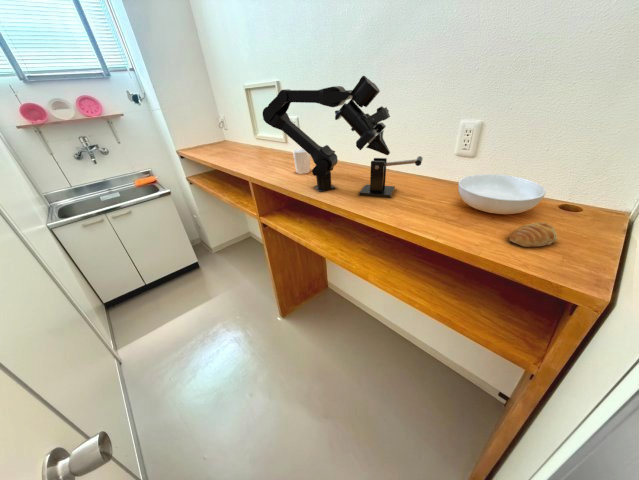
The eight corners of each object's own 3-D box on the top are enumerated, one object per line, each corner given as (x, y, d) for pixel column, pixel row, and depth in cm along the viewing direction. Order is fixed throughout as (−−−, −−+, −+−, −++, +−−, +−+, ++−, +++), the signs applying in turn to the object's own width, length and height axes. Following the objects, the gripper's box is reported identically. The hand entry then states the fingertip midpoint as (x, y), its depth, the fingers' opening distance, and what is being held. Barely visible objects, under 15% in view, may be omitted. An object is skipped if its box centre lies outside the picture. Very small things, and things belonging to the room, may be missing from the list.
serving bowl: (451, 216, 72) (456, 193, 69) (456, 191, 88) (460, 171, 84) (543, 228, 63) (554, 203, 60) (530, 198, 79) (538, 176, 75)
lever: (422, 162, 83) (422, 155, 82) (421, 166, 79) (421, 158, 78) (376, 166, 90) (375, 160, 89) (373, 170, 86) (372, 163, 85)
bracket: (394, 189, 94) (397, 157, 88) (390, 198, 87) (393, 163, 81) (365, 187, 98) (366, 156, 92) (359, 195, 91) (359, 162, 85)
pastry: (527, 252, 55) (533, 237, 54) (499, 238, 61) (504, 224, 59) (557, 243, 58) (565, 228, 56) (528, 230, 63) (533, 216, 61)
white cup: (297, 169, 126) (294, 149, 121) (312, 169, 125) (310, 148, 119) (293, 174, 119) (290, 152, 114) (309, 174, 118) (307, 152, 113)
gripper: (366, 100, 70) (404, 141, 72) (381, 96, 85) (412, 130, 86) (341, 131, 77) (375, 168, 79) (358, 122, 92) (387, 154, 93)
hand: (388, 154), depth 84 cm, fingers closed
